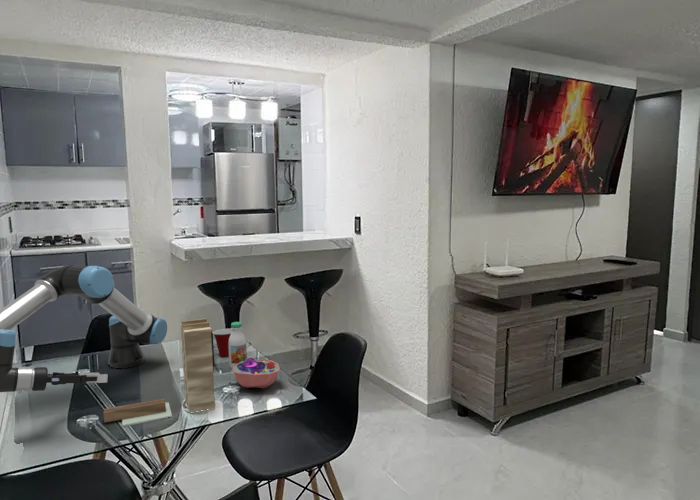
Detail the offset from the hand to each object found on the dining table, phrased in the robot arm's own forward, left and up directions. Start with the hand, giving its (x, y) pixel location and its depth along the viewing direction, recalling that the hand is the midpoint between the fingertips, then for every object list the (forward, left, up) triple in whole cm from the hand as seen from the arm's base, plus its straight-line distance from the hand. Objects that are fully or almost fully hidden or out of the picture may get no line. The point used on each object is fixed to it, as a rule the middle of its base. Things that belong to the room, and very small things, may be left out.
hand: (103, 377), depth 180 cm
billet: (+4, +9, -14) cm, 18 cm away
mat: (+4, +13, -15) cm, 20 cm away
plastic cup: (-46, +51, -15) cm, 70 cm away
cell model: (-3, +55, -15) cm, 57 cm away
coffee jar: (-32, +38, -15) cm, 52 cm away
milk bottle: (-28, +53, -15) cm, 62 cm away
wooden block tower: (+4, +31, -15) cm, 35 cm away
